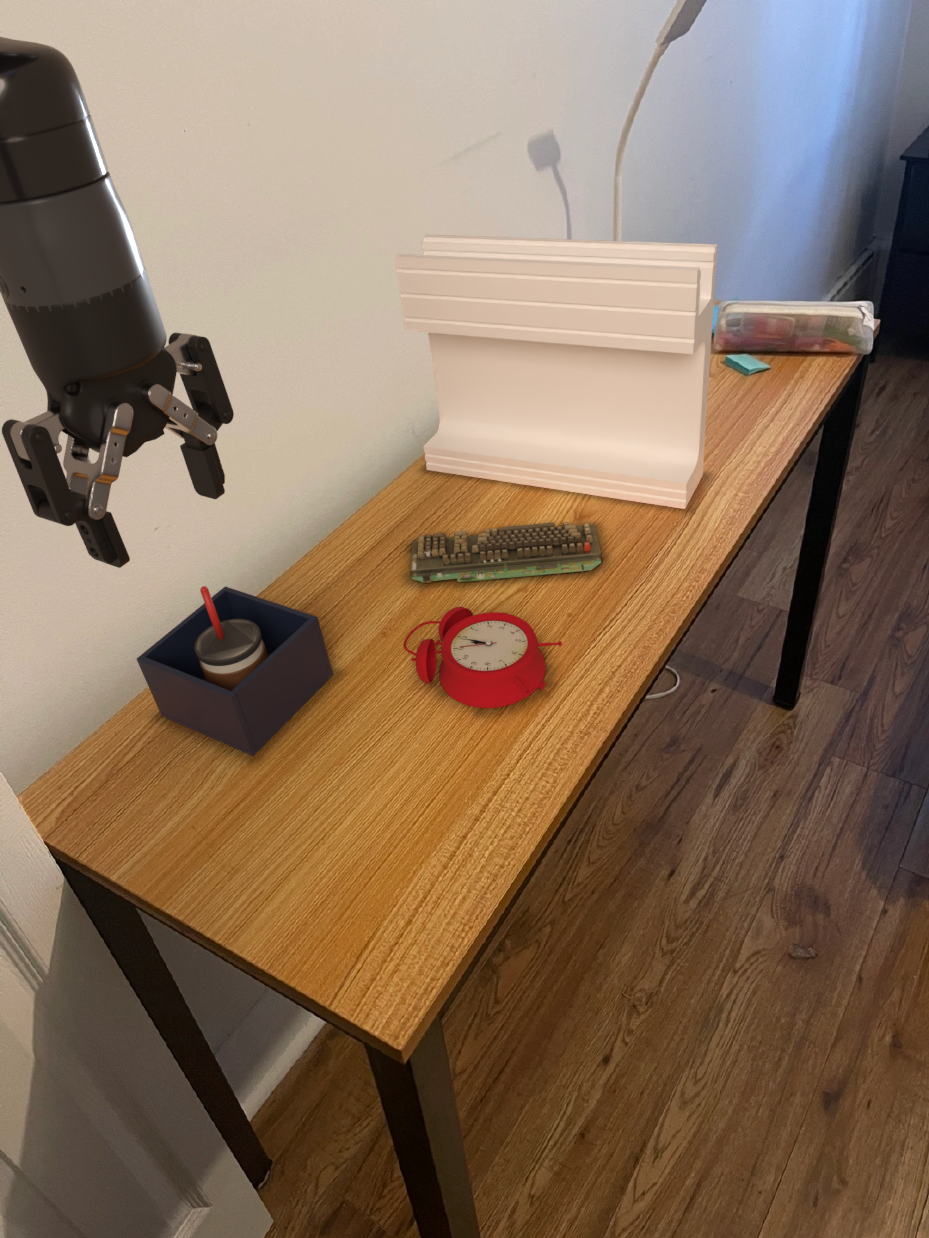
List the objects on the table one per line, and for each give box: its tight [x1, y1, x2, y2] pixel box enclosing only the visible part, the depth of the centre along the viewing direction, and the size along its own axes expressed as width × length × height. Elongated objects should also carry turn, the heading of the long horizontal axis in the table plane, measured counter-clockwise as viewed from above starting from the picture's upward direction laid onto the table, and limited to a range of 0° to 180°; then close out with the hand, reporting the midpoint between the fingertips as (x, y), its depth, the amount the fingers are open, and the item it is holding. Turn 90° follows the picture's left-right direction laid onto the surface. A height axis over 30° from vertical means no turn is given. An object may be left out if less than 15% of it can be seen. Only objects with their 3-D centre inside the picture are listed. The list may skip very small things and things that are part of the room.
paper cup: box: [195, 585, 268, 692], centre depth 85 cm, size 6×6×14 cm
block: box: [394, 234, 718, 510], centre depth 109 cm, size 35×8×28 cm, turn 64°
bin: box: [136, 586, 334, 757], centre depth 89 cm, size 12×12×8 cm
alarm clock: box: [403, 606, 563, 709], centre depth 89 cm, size 10×6×15 cm
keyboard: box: [409, 521, 604, 584], centre depth 104 cm, size 22×9×2 cm, turn 90°
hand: (165, 526), depth 59 cm, fingers open, 8 cm apart
